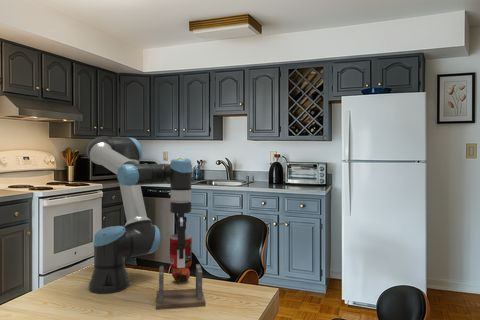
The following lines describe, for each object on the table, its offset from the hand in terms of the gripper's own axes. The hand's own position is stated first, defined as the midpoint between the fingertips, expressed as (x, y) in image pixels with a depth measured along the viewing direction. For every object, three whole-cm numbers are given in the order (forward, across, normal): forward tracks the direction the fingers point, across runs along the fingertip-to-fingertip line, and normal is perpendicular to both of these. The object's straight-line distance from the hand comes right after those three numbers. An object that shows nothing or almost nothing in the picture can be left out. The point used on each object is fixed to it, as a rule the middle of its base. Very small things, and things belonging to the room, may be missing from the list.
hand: (180, 264), depth 138 cm
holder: (+13, 0, 0) cm, 13 cm away
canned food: (+1, 0, 0) cm, 1 cm away
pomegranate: (+13, -20, +1) cm, 24 cm away
